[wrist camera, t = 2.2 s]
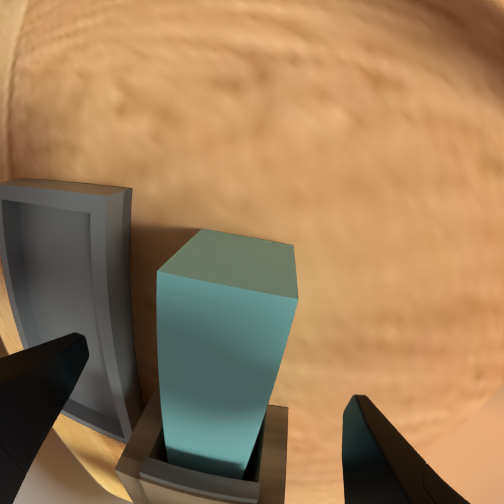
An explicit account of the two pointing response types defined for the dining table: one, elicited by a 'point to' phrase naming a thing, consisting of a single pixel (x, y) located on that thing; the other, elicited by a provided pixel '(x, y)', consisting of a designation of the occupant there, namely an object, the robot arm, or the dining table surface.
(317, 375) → the dining table surface
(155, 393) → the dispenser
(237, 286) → the teal long block
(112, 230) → the tray
